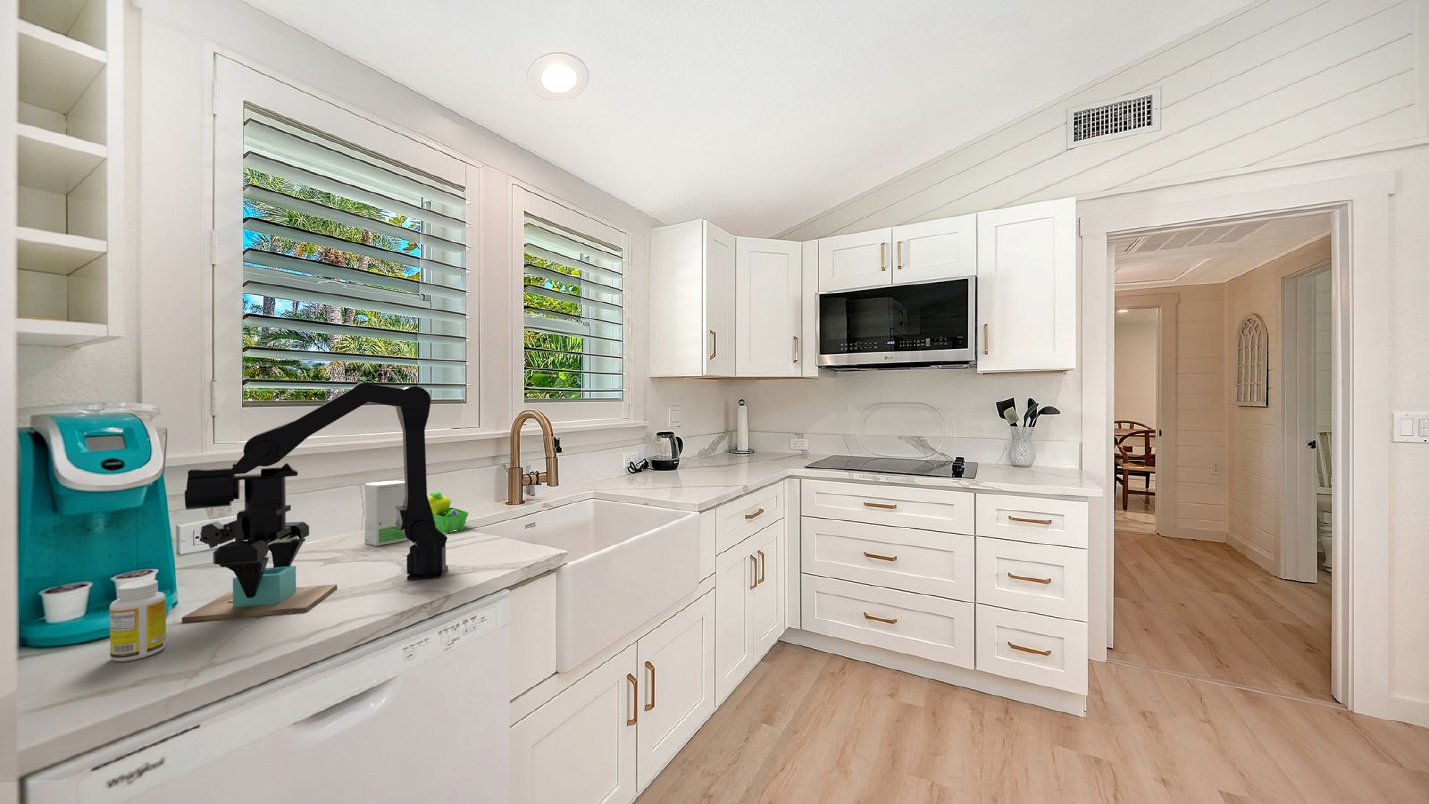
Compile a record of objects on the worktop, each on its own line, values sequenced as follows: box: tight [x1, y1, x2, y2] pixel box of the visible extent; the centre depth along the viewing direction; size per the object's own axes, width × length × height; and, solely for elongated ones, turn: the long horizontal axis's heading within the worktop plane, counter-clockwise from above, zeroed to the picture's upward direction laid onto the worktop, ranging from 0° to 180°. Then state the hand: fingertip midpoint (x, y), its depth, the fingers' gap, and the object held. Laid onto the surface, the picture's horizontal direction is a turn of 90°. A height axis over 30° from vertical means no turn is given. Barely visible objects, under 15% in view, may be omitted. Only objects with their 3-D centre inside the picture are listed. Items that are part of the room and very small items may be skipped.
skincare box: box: [364, 480, 408, 547], centre depth 140 cm, size 8×7×16 cm
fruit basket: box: [428, 491, 469, 534], centre depth 153 cm, size 11×9×11 cm
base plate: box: [181, 584, 338, 623], centre depth 97 cm, size 18×12×1 cm, turn 104°
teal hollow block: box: [232, 565, 297, 607], centre depth 97 cm, size 7×6×6 cm
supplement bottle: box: [109, 579, 167, 662], centre depth 78 cm, size 6×6×10 cm
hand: (266, 588), depth 97 cm, fingers open, 9 cm apart
